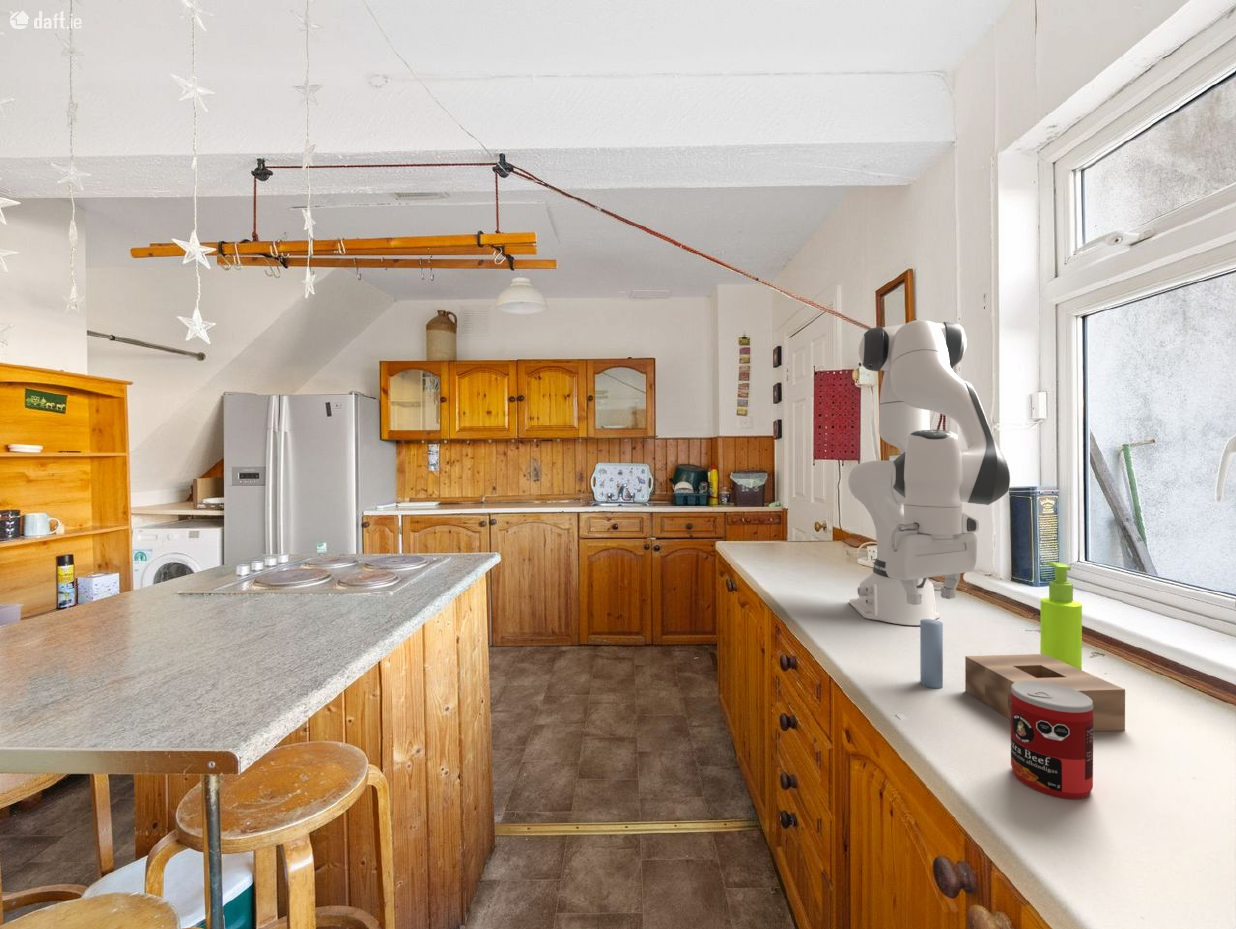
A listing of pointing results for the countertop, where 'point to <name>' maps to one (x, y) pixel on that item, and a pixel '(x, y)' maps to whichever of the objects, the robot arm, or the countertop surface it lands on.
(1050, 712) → the canned food
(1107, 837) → the countertop surface
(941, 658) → the dowel
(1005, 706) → the socket block
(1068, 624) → the soap dispenser
